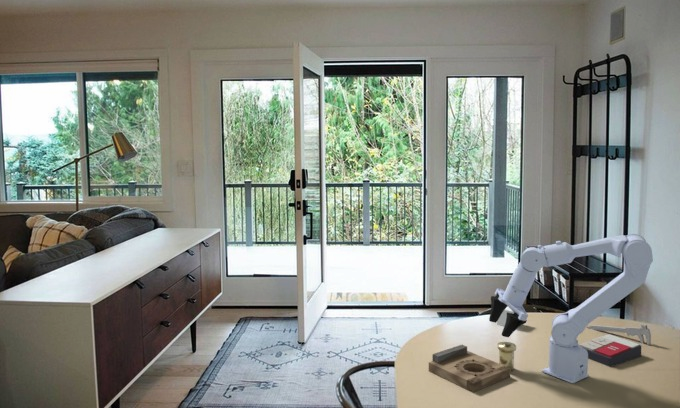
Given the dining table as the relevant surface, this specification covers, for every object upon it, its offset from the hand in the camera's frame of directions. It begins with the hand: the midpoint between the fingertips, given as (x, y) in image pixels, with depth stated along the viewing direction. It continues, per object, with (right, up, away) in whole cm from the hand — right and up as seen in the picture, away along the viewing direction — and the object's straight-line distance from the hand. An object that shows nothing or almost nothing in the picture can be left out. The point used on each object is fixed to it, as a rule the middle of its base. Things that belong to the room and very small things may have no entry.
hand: (498, 328), depth 152 cm
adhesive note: (+14, -7, +34) cm, 37 cm away
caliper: (+45, -8, +22) cm, 51 cm away
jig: (-10, -11, -5) cm, 16 cm away
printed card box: (+35, -10, +7) cm, 37 cm away
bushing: (+2, -11, -2) cm, 11 cm away
